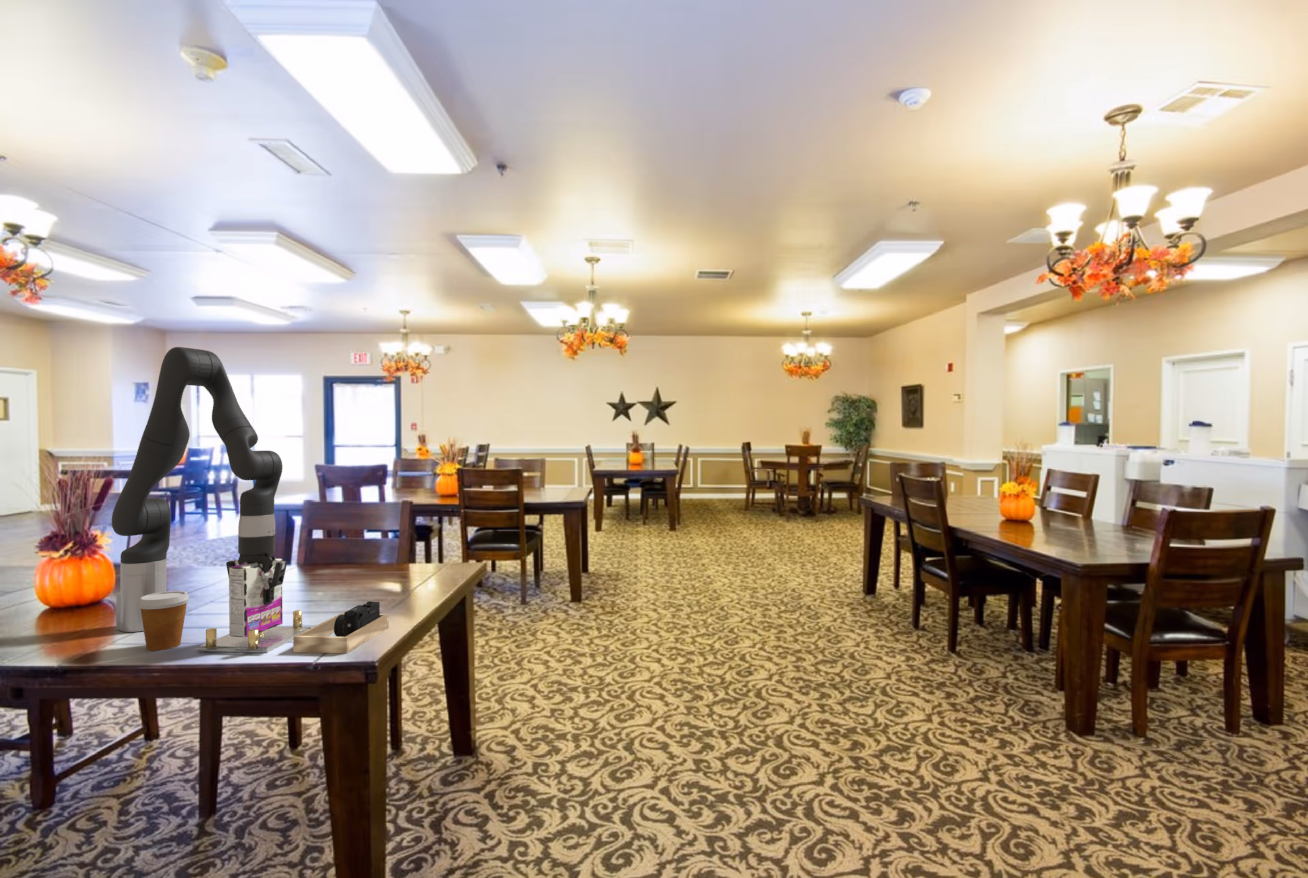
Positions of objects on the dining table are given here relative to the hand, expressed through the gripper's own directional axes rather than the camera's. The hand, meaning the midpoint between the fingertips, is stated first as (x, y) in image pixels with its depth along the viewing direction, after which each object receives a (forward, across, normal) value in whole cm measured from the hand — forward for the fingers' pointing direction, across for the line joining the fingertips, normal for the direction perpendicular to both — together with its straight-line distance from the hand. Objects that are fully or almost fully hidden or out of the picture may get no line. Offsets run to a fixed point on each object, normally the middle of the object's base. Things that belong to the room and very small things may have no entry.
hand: (256, 603), depth 150 cm
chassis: (+9, 0, 0) cm, 9 cm away
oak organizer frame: (+9, +20, +3) cm, 22 cm away
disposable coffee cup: (+9, -19, -5) cm, 22 cm away
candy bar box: (+7, 0, 0) cm, 7 cm away
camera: (+9, +22, +5) cm, 24 cm away
